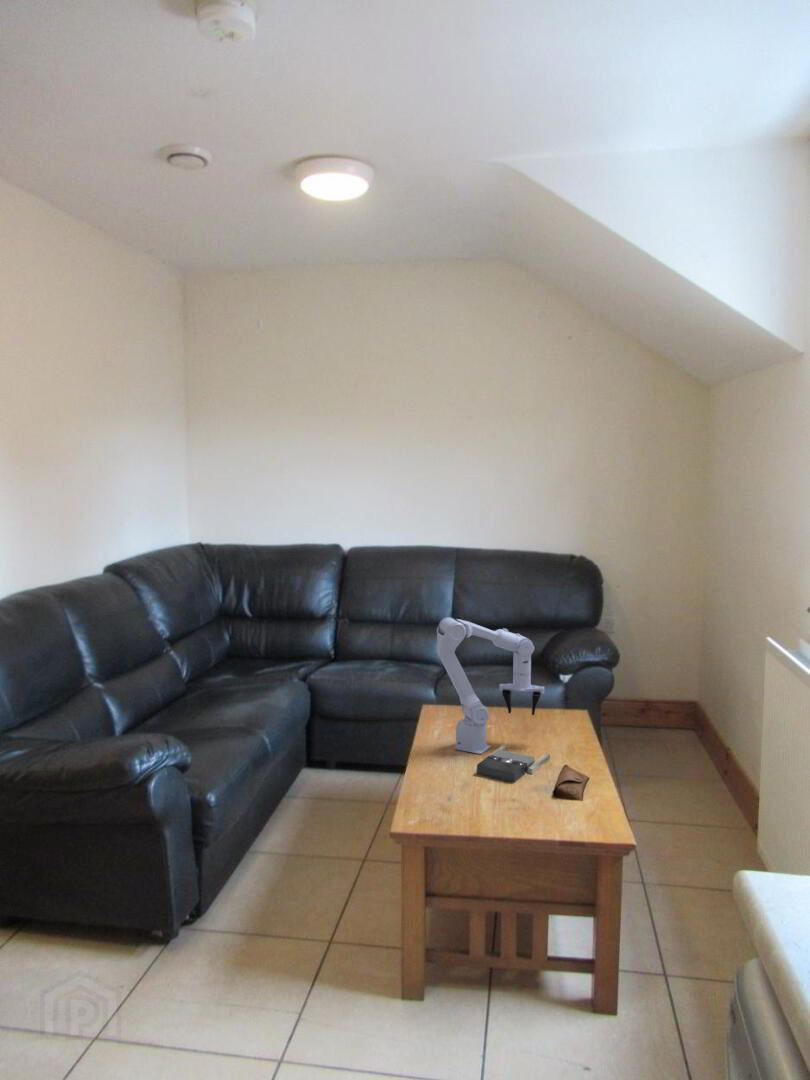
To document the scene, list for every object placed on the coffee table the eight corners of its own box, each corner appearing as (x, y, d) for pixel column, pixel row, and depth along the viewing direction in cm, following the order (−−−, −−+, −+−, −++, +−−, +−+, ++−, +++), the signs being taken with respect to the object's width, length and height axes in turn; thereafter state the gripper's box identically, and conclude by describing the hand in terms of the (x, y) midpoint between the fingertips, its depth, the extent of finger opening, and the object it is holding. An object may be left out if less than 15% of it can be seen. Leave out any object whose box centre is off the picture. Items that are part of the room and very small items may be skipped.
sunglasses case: (584, 801, 207) (572, 779, 208) (561, 811, 209) (549, 789, 210) (590, 776, 224) (579, 756, 225) (569, 786, 226) (558, 766, 227)
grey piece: (486, 767, 231) (486, 757, 231) (498, 758, 239) (498, 748, 239) (522, 776, 225) (522, 765, 225) (534, 766, 233) (534, 756, 232)
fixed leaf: (477, 774, 226) (477, 763, 226) (490, 764, 234) (490, 754, 234) (514, 782, 220) (514, 772, 220) (526, 772, 228) (526, 762, 227)
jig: (484, 763, 235) (484, 758, 235) (503, 749, 247) (503, 744, 247) (532, 773, 226) (532, 769, 226) (549, 758, 238) (549, 754, 238)
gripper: (498, 674, 247) (497, 715, 248) (543, 677, 244) (542, 718, 245) (501, 669, 254) (500, 708, 255) (545, 671, 250) (544, 712, 252)
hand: (521, 713), depth 250 cm, fingers open, 7 cm apart
